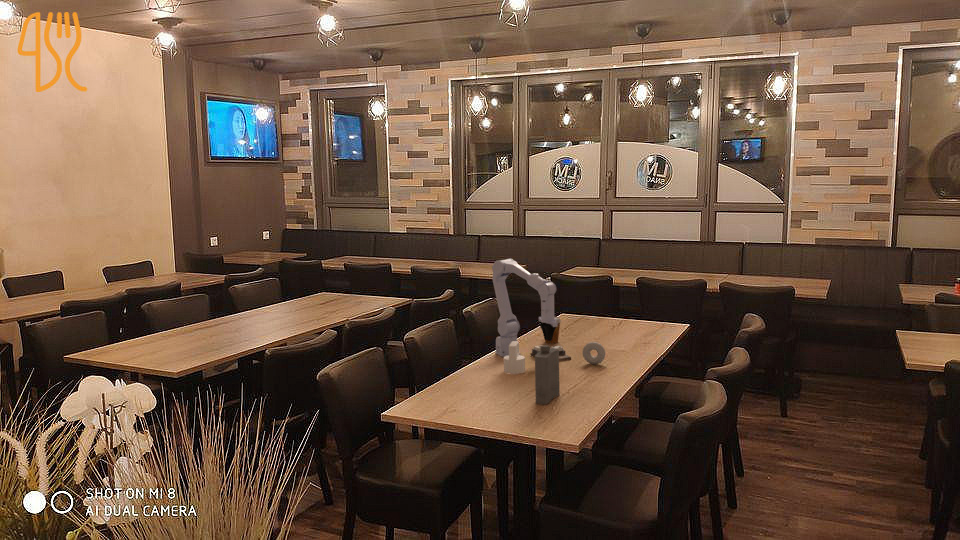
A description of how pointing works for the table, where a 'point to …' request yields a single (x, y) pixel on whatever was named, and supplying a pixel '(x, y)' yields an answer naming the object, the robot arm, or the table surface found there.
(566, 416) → the table surface
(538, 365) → the flask
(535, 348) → the tile one
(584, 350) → the donut
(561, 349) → the tile two
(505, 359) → the cylinder with rectangular tab
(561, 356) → the dark brown cabinet frame
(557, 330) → the disposable coffee cup
